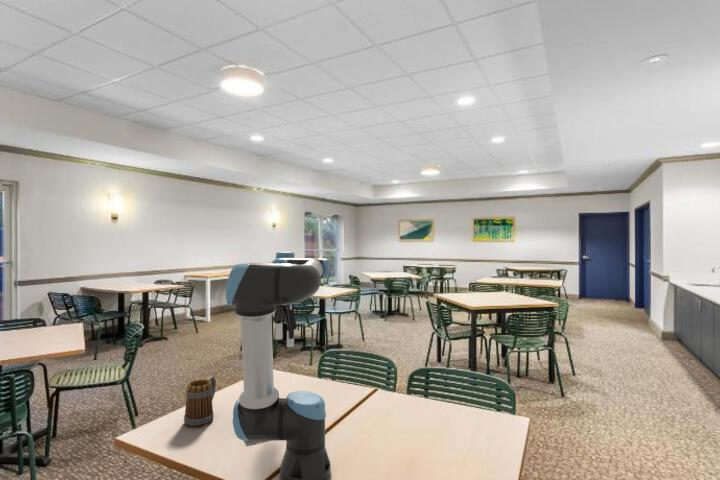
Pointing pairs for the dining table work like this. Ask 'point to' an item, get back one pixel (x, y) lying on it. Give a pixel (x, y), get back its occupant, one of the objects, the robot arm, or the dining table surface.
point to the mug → (199, 402)
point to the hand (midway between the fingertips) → (284, 342)
